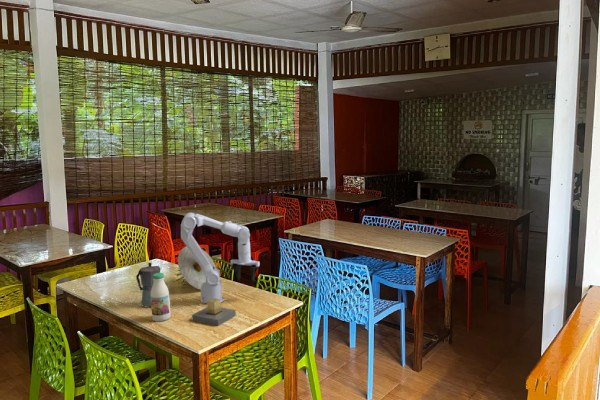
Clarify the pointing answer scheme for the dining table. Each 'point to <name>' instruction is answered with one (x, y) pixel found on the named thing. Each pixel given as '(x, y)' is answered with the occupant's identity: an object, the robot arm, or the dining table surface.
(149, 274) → the moka pot
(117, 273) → the dining table surface
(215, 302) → the plug block
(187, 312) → the dining table surface
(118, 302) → the dining table surface
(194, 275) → the disc
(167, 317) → the milk bottle
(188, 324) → the dining table surface
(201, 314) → the grey flat slab
